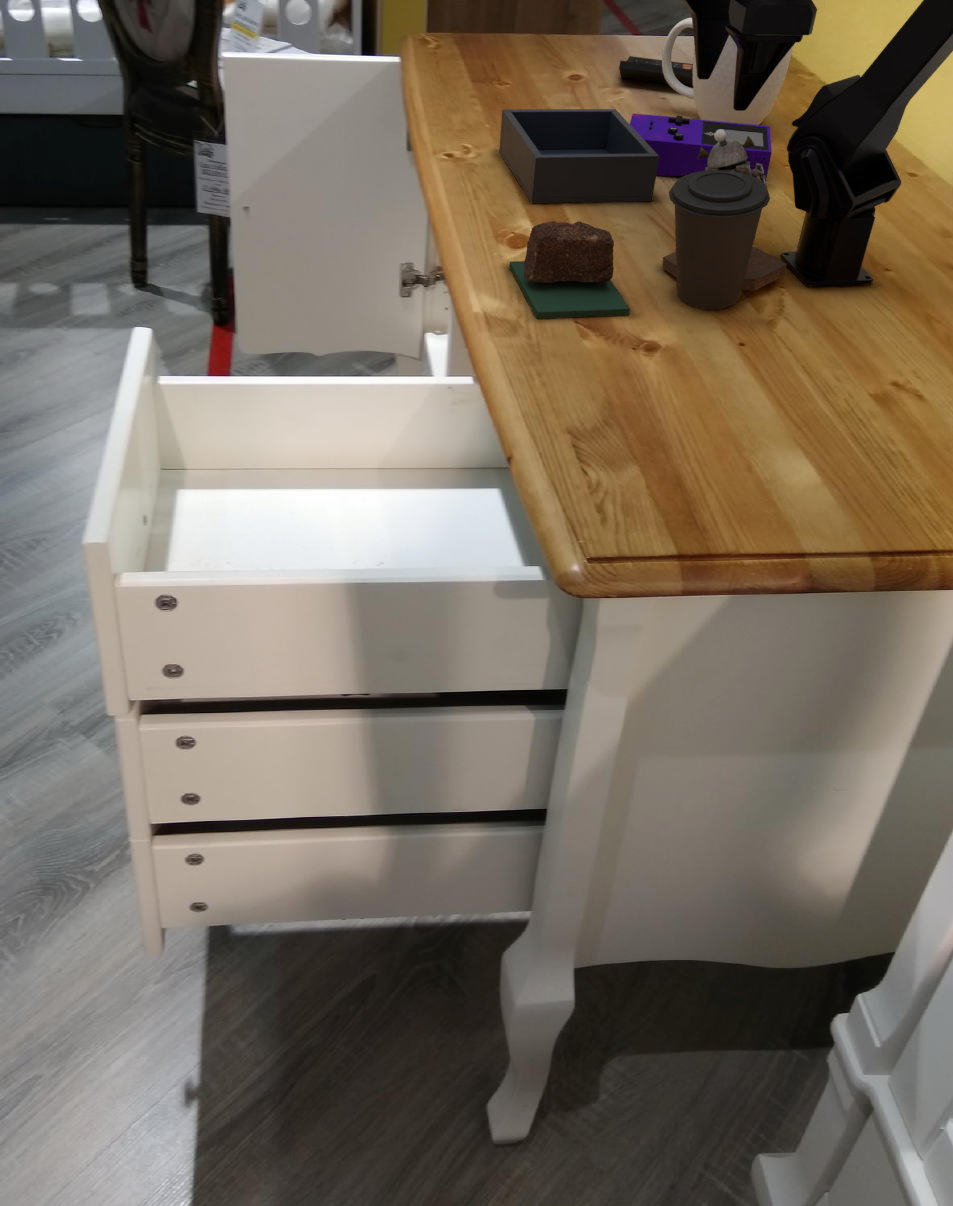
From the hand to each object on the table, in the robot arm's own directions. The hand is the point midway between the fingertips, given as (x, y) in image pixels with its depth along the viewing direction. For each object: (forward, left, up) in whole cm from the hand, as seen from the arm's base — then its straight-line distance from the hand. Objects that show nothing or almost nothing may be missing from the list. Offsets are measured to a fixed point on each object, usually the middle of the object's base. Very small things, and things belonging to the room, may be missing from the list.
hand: (720, 94), depth 106 cm
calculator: (+47, -12, -12) cm, 50 cm away
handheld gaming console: (+16, -5, -13) cm, 21 cm away
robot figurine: (-13, +2, -12) cm, 17 cm away
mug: (+30, -14, -12) cm, 35 cm away
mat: (-14, +17, -12) cm, 25 cm away
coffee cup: (-16, +5, -12) cm, 21 cm away
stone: (-14, +17, -12) cm, 25 cm away
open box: (+13, +9, -12) cm, 20 cm away
